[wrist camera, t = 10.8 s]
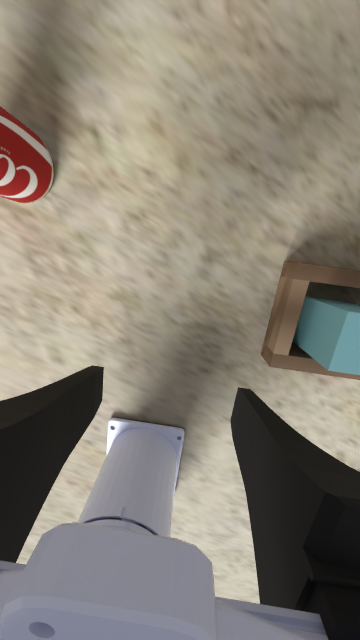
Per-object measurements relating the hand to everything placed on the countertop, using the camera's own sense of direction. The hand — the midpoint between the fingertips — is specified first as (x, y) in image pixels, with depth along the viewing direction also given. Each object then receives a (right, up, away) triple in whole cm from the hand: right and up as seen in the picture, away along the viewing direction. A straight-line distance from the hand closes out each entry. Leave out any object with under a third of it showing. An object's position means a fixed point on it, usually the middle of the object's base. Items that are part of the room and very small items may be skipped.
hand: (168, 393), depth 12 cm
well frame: (+13, +4, +8) cm, 16 cm away
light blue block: (+13, +4, +8) cm, 16 cm away
